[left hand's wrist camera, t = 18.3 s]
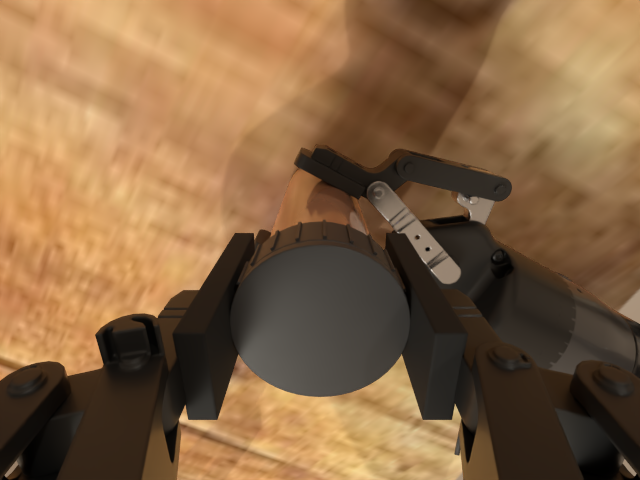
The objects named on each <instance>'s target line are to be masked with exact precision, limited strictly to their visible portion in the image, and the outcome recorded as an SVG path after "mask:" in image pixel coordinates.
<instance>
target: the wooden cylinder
mask: <svg viewBox="0 0 640 480" xmlns="http://www.w3.org/2000/svg"><path fill="white" fill-rule="evenodd" d="M323 220H326V222H333V223H338V224H343V225H347V224H350V227H352V228H354V229H356V230H359V231H361V232H363V233H364V234H366V235H368V234H370V233H369V231H368V228H367V225H366V222H365V220H364V217H363V214H362V211H361V209H360V206H359V203H358V201H357V198H355V197H353V196H351V195H349V194H347V193H345V192H344V191H342V190H340V189H338V188H336V187H334V186H332V185H330V184H328V183H327V182H325V181H323V180H321V179H319V178H317V177H315V176H313V175H312V174H310V173H308V172H306V171H304V170H302V169H300V168H299V169H298V170H297V171H296V172H295V173H294V175H293V176H292V178H291V180H290V182H289V185H288V188H287V190H286V193H285V196H284V199H283V201H282V204H281V207H280V210H279V212H278V215H277V218H276V221H275V223H274V226H273V229H272V232H271V234H270V237H271V236H273V235H275V232H276V231H277V230H279V231H282V230H284V229H286V228H288V227H291V226H294V225H297V224H298V222H302V223H307V222H320V221H322V222H323ZM270 237H269V238H270Z"/></svg>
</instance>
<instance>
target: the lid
mask: <svg viewBox="0 0 640 480" xmlns="http://www.w3.org/2000/svg"><path fill="white" fill-rule="evenodd" d="M237 285H239V286H238V288H237V291H236V293H235V295H234V298H233V301H232V305H231V310H230V327H231V335H232V340H233V342H234V345H235V348H236V350H237V352H238V354H239V355H240V357H241V358H242V360H243V361H244V363H245V364H246V365H247V366H248V367H249V368H250V369H251V370H252V371H253V372H254V373H255V374H256V375H257V376H259V377H260V378H261V379H263V380H264V381H266V382H267V383H269V384H271V385H273V386H275V387H277V388H279V389H282V390H284V391H287V392H290V393H294V394H298V395H304V396H314V397H326V396H336V395H342V394H346V393H350V392H353V391H356V390H359V389H361V388H363V387H365V386H367V385H369V384H371V383H373V382H374V381H376V380H378V379H379V378H380V377H382V376H383V375H384V374H385V373H387V372H388V371H389V370H390V368H391V367H392V366H393V365H394V364H395V363H396V361H397V360H398V359H399V357H400V356H401V354H402V352H403V350H404V348H405V346H406V343H407V341H408V337H409V329H410V319H411V315H410V308H409V304H408V300H407V297H406V295H405V293H404V292H407V291H406V288H405V286H404V284H403V281H402V279H401V277H400V275H399V272H398V270H397V268H394V265H393V263H392V261H391V259H390V256H389V254H388V252H387V250H386V249H385V250H383V249H382V248H381V247H380V246H379V245H378V244H377V243H376V242H375V241H374V240H373V239H372V237H371V235H370V234H368V235H366V234H364V233H363V232H361V231H359V230H356V229H354V228H352V227H350V224H347V225H343V224H338V223H333V222H326V220H323V222H322V221H320V222H307V223H302V222H298V224H297V225H294V226H291V227H288V228H286V229H284V230H282V231H279V230H277V231H276V232H275V235H273V236H271V237H270V238H269V239H268V240H266V241H265V242H264V243H263V244H262V245H261V244H259V245H258V246H257V249H256V251H255V253H254V255H253V256H252V258H251V259H250V261H249V262H248V261H247V262H246V264H245V266H244V268H243V271H242V273H241V275H240V277H239V279H238V282H237Z"/></svg>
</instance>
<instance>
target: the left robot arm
mask: <svg viewBox="0 0 640 480" xmlns="http://www.w3.org/2000/svg"><path fill="white" fill-rule="evenodd" d="M385 249H386V250H387V252H388V254H389V256H390V259H391V261H392V263H393V265H394V268H397V270H398V272H399V275H400V277H401V279H402V281H403V284H404V286H405V288H406V291H407V292H404V293H405V295H406V297H407V300H408V304H409V308H410V315H411V319H410V329H409V337H408V341H407V343H406V346H405V348H404V350H403V352H402V356H403V359H404V362H405V365H406V368H407V372H408V375H409V378H410V381H411V384H412V387H413V390H414V393H415V397H416V400H417V403H418V406H419V409H420V412H421V415H422V419H423V420H452V416H453V411H454V406H455V404H456V406H457V409H458V411H459V413H460V415H461V418H462V419H461V423H460V428H459V433H458V438H457V443H456V448H455V455H459V454H460V450H461V460H462V470H463V480H640V378H638V377H637V376H636V375H634V374H633V373H631V372H629V371H627V370H625V369H623V368H621V367H619V366H617V365H614V364H611V363H608V362H604V361H597V360H587V361H582V362H580V363H579V364H578V365H577V366H576V369H575V372H574V374H573V375H572V374H567V373H563V372H558V371H553V370H549V369H544V368H541V367H537V364H536V363H535V361H534V360H533V358H532V357H531V356H530V355H529V354H527V353H526V352H525V351H523V350H522V349H520V348H518V347H516V346H514V345H512V344H508V343H504V342H502V340H501V339H500V338H499V336H498V335H497V334H496V332H495V331H494V330H493V328H492V327H491V326H490V324H489V323H488V322H487V320H486V319H485V318H484V317H482V314H481V312H480V311H479V310H478V309H477V308H476V306H475V304H474V303H473V302H472V300H471V299H470V298H469V297H468V296H466V295H465V294H463V293H462V292H460V291H459V290H457V289H440V288H439V286H438V285H437V283H436V281H435V280H434V278H433V277H432V275H431V274H430V272H429V270H428V269H427V267H426V266H425V264H424V262H423V261H422V259H421V258H420V256H419V254H418V253H417V251H416V250H415V248H414V246H413V245H412V243H411V242H410V240H409V238H408V237H407V235H406V234H405V233H386V247H385ZM254 253H255V244H254V233H235V234H234V236H233V237H232V239H231V240H230V242H229V244H228V245H227V247H226V248H225V250H224V252H223V253H222V255H221V256H220V258H219V260H218V261H217V263H216V264H215V266H214V268H213V269H212V271H211V272H210V274H209V275H208V277H207V279H206V280H205V282H204V283H203V285H202V287H201V288H200V290H183V291H182V292H180V293H179V294H177V295H176V296H174V297H173V298H171V299H170V301H169V302H168V303H167V305H166V306H165V307H164V310H162V311H161V313H160V314H159V316H158V318H156V317H155V316H153V315H149V314H132V315H127V316H123V317H120V318H118V319H115V320H113V321H111V322H109V323H108V324H106V325H105V326H103V327H102V328H100V330H99V331H98V332H97V333H96V335H95V336H96V339H97V343H98V346H99V350H100V353H101V357H102V360H103V363H104V365H103V367H102V368H101V369H98V370H94V371H89V372H85V373H80V374H75V375H71V376H67V374H66V371H65V368H64V366H63V365H61V364H60V363H58V362H51V361H48V362H40V363H35V364H31V365H29V366H25V367H23V368H20V369H19V370H17V371H15V372H13V373H11V374H9V375H7V376H6V377H5V378H3V379H2V380H1V381H0V480H177V471H178V461H179V450H180V440H181V429H180V423H179V418H180V415H181V413H182V411H183V409H184V406H185V404H186V410H187V415H188V420H217V419H218V416H219V413H220V410H221V407H222V404H223V400H224V397H225V394H226V391H227V388H228V385H229V382H230V378H231V375H232V372H233V369H234V366H235V363H236V360H237V356H238V352H237V350H236V348H235V345H234V342H233V340H232V335H231V327H230V310H231V305H232V301H233V298H234V295H235V293H236V291H237V288H238V286H239V285H237V282H238V279H239V277H240V275H241V273H242V271H243V268H244V266H245V264H246V262H247V261H248V262H249V261H250V259H251V258H252V256H253V255H254ZM624 459H625V460H626V461H627V462H628V463H629V464H630V466H631V467H632V468H633V469H634V471H635V472H636V473H637V474H636V476H633V475H632V474H631V473H630V472H629V471H628V470H627V468H626V467H625V466H624V465H623V461H624ZM16 460H17V462H18V464H19V465H18V466H17V467H16V468H15V470H14V471H13V472H12V473H11V474H10V475H9V476H8V477H7V478H6V477H5V476H4V475H5V474H6V472H7V471H8V470H9V469H10V467H11V466H12V465H13V464H14V462H15V461H16Z"/></svg>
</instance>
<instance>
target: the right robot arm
mask: <svg viewBox="0 0 640 480" xmlns="http://www.w3.org/2000/svg"><path fill="white" fill-rule="evenodd" d="M294 164H295V165H296V166H297V167H299V168H300V169H302V170H304V171H306V172H308V173H310V174H312V175H313V176H315V177H317V178H319V179H321V180H323V181H325V182H327V183H328V184H330V185H332V186H334V187H336V188H338V189H340V190H342V191H344V192H345V193H347V194H349V195H351V196H353V197H355V198H357V199H358V200H359V198H360V196H363V197H365V198H367V199H368V200H369V201H370V202H371V203H372V204H373V206H374V207H375V208H376V209H377V210H378V211H379V212H380V213H381V214H382V216H383V217H384V218H385V219H386V220H387V221H388V222H389V223H390V225H391V226H392V227H393V228H394V230H393V232H392V233H405V234H406V235H407V237H408V238H409V240H410V242H411V243H412V245H413V246H414V248H415V250H416V251H417V253H418V254H419V256H420V258H421V259H422V261H423V262H424V264H425V266H426V267H427V269H428V270H429V272H430V274H431V275H432V277H433V278H434V280H435V281H436V283H437V285H438V286H439V288H440V289H457V290H459V291H460V292H462V293H463V294H465V295H466V296H468V297H469V298H470V299H471V300H472V302H473V303H474V304H475V306H476V308H477V309H478V310H479V311H480V312H481V314H482V317H484V318H485V319H486V320H487V322H488V323H489V324H490V326H491V327H492V328H493V330H494V331H495V332H496V334H497V335H498V336H499V338H500V339H501V340H502V342H504V343H508V344H512V345H514V346H516V347H518V348H520V349H522V350H523V351H525V352H526V353H527V354H529V355H530V356H531V357H532V358H533V360H534V361H535V363H536V364H537V367H541V368H544V369H549V370H553V371H558V372H563V373H567V374H572V375H573V374H574V372H575V369H576V366H577V365H578V364H579V363H580V362H582V361H587V360H597V361H604V362H608V363H611V364H614V365H617V366H619V367H621V368H623V369H625V370H627V371H629V372H631V373H633V374H634V375H636V376H637V377H638V378H640V324H639V323H637V322H635V321H633V320H631V319H630V318H628V317H626V316H624V315H622V314H620V313H619V312H617V311H615V310H613V309H611V308H610V307H608V306H607V305H606V304H604V303H603V302H602V301H601V300H599V299H598V298H597V297H596V296H594V295H593V294H592V293H590V292H588V291H587V290H585V289H583V288H582V287H580V286H578V285H576V284H574V283H573V282H572V281H571V280H570V279H568V278H567V277H566V276H564V275H562V274H559V273H556V272H553V271H551V270H549V269H547V268H546V267H544V266H542V265H540V264H538V263H537V262H535V261H533V260H531V259H529V258H527V257H526V256H524V255H522V254H520V253H518V252H517V251H515V250H513V249H511V248H509V247H508V246H506V245H504V244H502V243H500V242H498V241H497V240H495V239H494V238H493V237H492V235H491V232H490V230H489V229H488V228H487V227H486V226H485V223H486V221H487V219H488V216H489V214H490V212H491V210H492V207H493V205H494V203H495V201H502V200H504V199H506V198H507V197H508V196H509V195H510V193H511V190H512V185H511V183H510V181H509V180H508V179H506V178H503V177H501V176H499V175H496V174H494V173H492V172H490V171H487V170H485V169H481V168H477V167H473V166H469V165H465V164H461V163H457V162H453V161H449V160H445V159H441V158H437V157H433V156H429V155H425V154H420V153H416V152H412V151H408V150H404V149H396V150H394V151H393V152H391V154H390V155H389V158H388V159H386V160H385V161H384V162H383V163H382V164H381V165H379V166H378V167H375V168H366V167H364V166H362V165H360V164H358V163H356V162H355V161H353V160H351V159H349V158H347V157H346V156H344V155H342V154H340V153H338V152H337V151H335V150H333V149H331V148H329V147H328V146H324V145H315V147H314V149H313V151H312V152H311V151H309V150H307V149H305V148H301V150H300V152H299V154H298V156H297V158H296V160H295V162H294ZM407 180H408V181H413V182H417V183H421V184H425V185H429V186H434V187H438V188H442V189H446V190H450V191H452V193H451V195H452V198H453V200H454V201H456V202H457V203H458V204H459V205H461V206H462V207H463V208H464V215H459V216H451V217H443V218H436V219H428V220H419V219H418V218H417V217H416V216H415V215H414V213H413V212H412V211H411V210H410V209H409V208H408V206H407V205H406V204H405V203H404V202H403V201H402V200H401V198H400V197H399V196H398V195H397V194H396V193H395V192H394V191H395V190H396V189H397V188H399V187H400V186H401V185H402V184H404V183H405V182H406V181H407ZM270 234H271V232H269V231H266V230H260V231H259V232H258V234H257V236H256V238H255V240H254V244H255V251H256V249H257V246H258V245H259V244H261V245H262V244H263V243H264V242H265V241H266V240H268V239H269V237H270Z"/></svg>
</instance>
